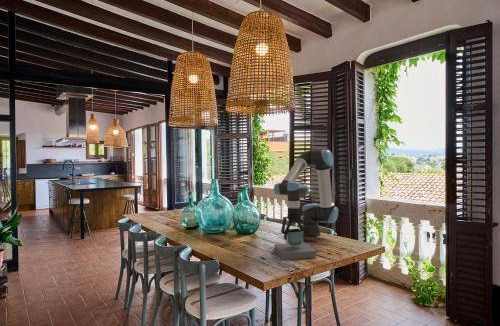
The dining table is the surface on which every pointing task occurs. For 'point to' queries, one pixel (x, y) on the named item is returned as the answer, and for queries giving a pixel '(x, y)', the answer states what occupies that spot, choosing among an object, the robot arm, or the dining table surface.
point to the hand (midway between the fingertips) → (294, 244)
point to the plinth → (295, 251)
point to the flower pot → (295, 237)
